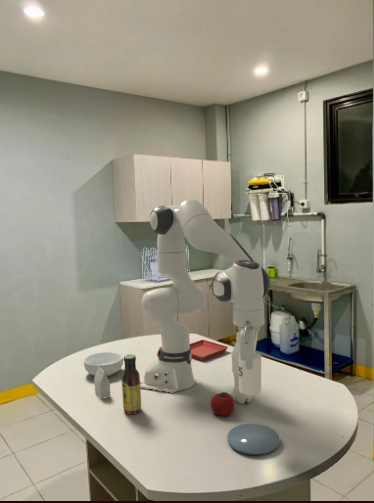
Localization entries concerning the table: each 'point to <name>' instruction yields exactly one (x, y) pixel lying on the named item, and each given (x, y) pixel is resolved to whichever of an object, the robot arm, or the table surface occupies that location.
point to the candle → (250, 376)
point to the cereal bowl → (103, 362)
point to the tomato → (222, 404)
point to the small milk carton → (101, 384)
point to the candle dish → (253, 439)
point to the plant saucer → (206, 349)
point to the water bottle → (235, 368)
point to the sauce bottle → (131, 386)
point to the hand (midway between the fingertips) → (249, 364)
